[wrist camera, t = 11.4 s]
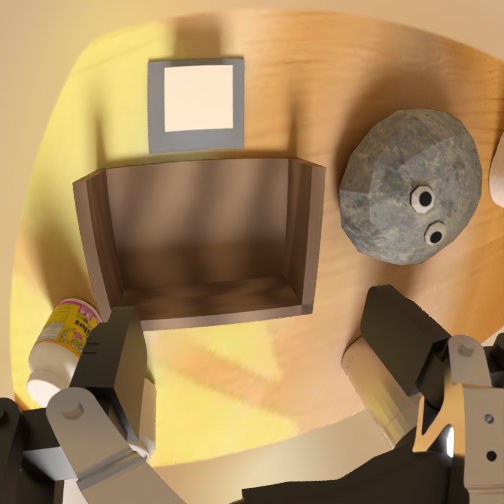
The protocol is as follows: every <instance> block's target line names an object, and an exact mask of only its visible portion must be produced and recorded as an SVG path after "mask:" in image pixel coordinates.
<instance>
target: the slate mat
mask: <svg viewBox="0 0 504 504" xmlns="http://www.w3.org/2000/svg"><path fill="white" fill-rule="evenodd" d="M205 65H233V128H223V129H199V130H183V131H170V132H165V102H164V73H165V68H169V67H183V66H205ZM148 139H149V154H153V153H164V152H176V151H191V150H209V149H237V148H244V59H186V60H171V61H159V62H149V63H148Z"/></svg>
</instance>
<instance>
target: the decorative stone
mask: <svg viewBox="0 0 504 504" xmlns="http://www.w3.org/2000/svg"><path fill="white" fill-rule="evenodd" d="M481 190H482V169H481V164H480V160H479V156H478V152H477V149H476V146H475V143H474V140H473V138H472V137H471V135H470V134H469V132H468V131H467V129H466V128H465V126H464V125H463V124H462V122H461V121H460V120H458V119H456V118H455V117H453V116H451V115H449V114H448V113H446V112H444V111H439V110H432V109H425V108H415V109H406V110H398V111H396V112H395V113H393V114H391V115H390V116H388V117H387V118H385V119H383V120H382V121H380V122H379V123H377V124H376V125H374V126H373V127H372V128H371V130H370V131H369V132H368V134H367V135H366V136H365V137H364V139H363V140H362V141H361V142H360V144H359V145H358V146H357V147H356V149H355V150H354V151H353V152H352V154H351V155H350V158H349V161H348V164H347V167H346V170H345V173H344V176H343V179H342V182H341V185H340V188H339V199H340V211H341V225H342V229H343V230H344V232H345V233H346V234H347V236H348V237H349V238H350V240H351V241H352V243H353V244H354V246H355V247H356V248H357V250H358V251H359V252H361V253H363V254H366V255H368V256H371V257H373V258H375V259H378V260H380V261H384V262H388V263H392V264H396V265H408V264H419V263H423V262H425V261H426V260H427V259H429V258H430V257H432V256H433V255H435V254H436V253H438V252H439V251H440V250H442V249H443V248H444V247H446V246H447V245H448V244H450V243H451V242H452V241H454V240H455V239H456V238H457V236H458V235H459V234H460V233H461V232H462V231H463V229H464V228H465V227H466V226H467V225H468V223H469V222H470V220H471V218H472V216H473V214H474V212H475V211H476V208H477V205H478V203H479V200H480V197H481Z"/></svg>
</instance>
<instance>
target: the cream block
mask: <svg viewBox="0 0 504 504" xmlns="http://www.w3.org/2000/svg"><path fill="white" fill-rule="evenodd" d="M164 102H165V132H170V131H183V130H199V129H223V128H233V65H205V66H183V67H169V68H165V73H164Z"/></svg>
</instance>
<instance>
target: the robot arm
mask: <svg viewBox="0 0 504 504" xmlns="http://www.w3.org/2000/svg"><path fill="white" fill-rule="evenodd" d="M361 333H362V337H360V338H359V339H357V340H356V341H355V342H354V343H353V344H352V345H351V346H350V347H349V348H348V349H347V351H346V352H345V354H344V356H343V359H342V368H343V370H344V371H345V373H346V375H347V377H348V378H349V380H350V381H351V383H352V385H353V387H354V388H355V390H356V392H357V393H358V395H359V396H360V398H361V400H362V401H363V403H364V405H365V406H366V408H367V410H368V411H369V413H370V415H371V416H372V418H373V420H374V421H375V423H376V424H377V426H378V428H379V429H380V431H381V433H382V435H383V436H384V438H385V439H386V441H387V443H388V445H389V446H390V448H391V451H389V452H386V453H383V454H381V455H378V456H376V457H374V458H372V459H371V460H369V461H368V462H366V463H365V464H363V465H362V466H360V467H358V468H357V469H355V470H354V471H352V472H350V473H349V474H347V475H345V476H344V477H342V478H340V479H337V480H327V481H302V482H300V481H298V482H284V483H279V484H273V485H267V486H261V487H255V488H247V489H242V499H241V500H238V501H235V502H232V503H230V504H504V333H500V334H499V335H498V336H497V338H496V340H495V343H494V344H493V346H486V347H482V345H481V344H480V343H479V342H478V341H476V340H475V339H473V338H471V337H469V336H465V335H455V336H453V337H452V336H451V335H450V334H449V333H448V332H447V331H446V330H444V329H443V328H442V327H441V326H440V325H439V324H438V323H437V322H436V321H435V320H434V319H432V318H431V317H429V315H428V314H427V313H426V312H425V311H422V309H421V308H420V307H419V306H418V305H417V304H416V303H415V302H413V301H412V300H410V299H408V298H406V297H404V296H403V295H402V294H401V293H400V292H398V291H397V290H396V289H395V288H394V287H393V286H391V285H382V286H374V287H371V288H370V289H369V291H368V293H367V298H366V303H365V307H364V312H363V316H362V320H361ZM146 364H147V350H146V344H145V339H144V335H143V331H142V326H141V322H140V317H139V312H138V309H137V307H136V306H124V307H113V309H112V312H111V314H110V317H109V320H108V322H100V323H99V324H98V325H97V326H96V327H95V328H94V329H92V330H91V331H90V333H89V336H88V338H87V340H86V345H84V348H83V350H82V354H81V355H80V358H79V361H78V363H77V366H76V369H75V371H74V374H73V377H72V379H71V382H70V385H69V388H66V389H63V390H61V391H59V392H57V393H56V394H54V395H53V396H52V397H51V399H50V400H49V402H48V404H47V407H45V408H40V409H33V410H26V411H21V410H20V408H19V407H18V405H17V404H16V403H15V402H14V401H13V400H11V399H9V398H0V504H62V502H63V489H64V480H66V479H73V478H78V481H77V485H78V487H79V489H80V491H81V493H82V494H83V496H84V498H85V499H86V501H87V502H88V504H186V503H185V502H184V501H183V500H182V499H181V498H180V497H179V496H178V495H177V494H176V493H175V492H174V491H173V490H172V489H171V488H170V487H169V486H168V485H167V484H166V483H165V482H164V481H163V480H162V479H161V478H160V476H159V475H158V474H157V473H156V472H155V471H154V470H153V469H152V468H151V466H150V465H149V464H148V463H147V462H146V461H145V460H144V458H143V457H142V456H141V455H140V454H139V453H138V452H137V451H134V450H133V449H132V448H131V447H130V446H129V444H128V443H127V441H139V428H140V417H141V406H142V397H143V388H144V380H145V372H146Z"/></svg>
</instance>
